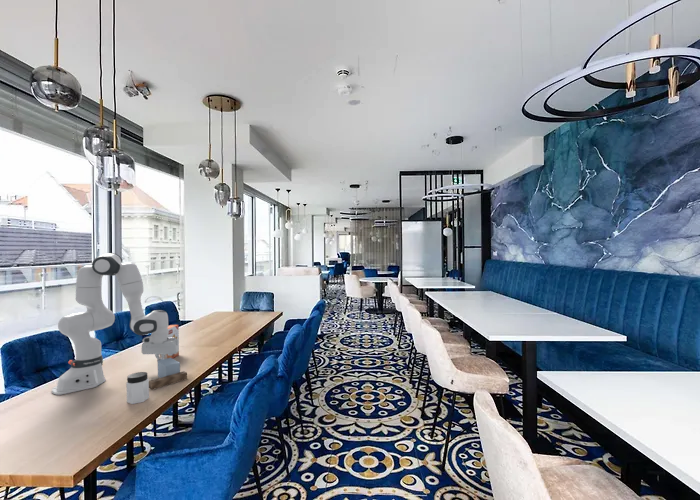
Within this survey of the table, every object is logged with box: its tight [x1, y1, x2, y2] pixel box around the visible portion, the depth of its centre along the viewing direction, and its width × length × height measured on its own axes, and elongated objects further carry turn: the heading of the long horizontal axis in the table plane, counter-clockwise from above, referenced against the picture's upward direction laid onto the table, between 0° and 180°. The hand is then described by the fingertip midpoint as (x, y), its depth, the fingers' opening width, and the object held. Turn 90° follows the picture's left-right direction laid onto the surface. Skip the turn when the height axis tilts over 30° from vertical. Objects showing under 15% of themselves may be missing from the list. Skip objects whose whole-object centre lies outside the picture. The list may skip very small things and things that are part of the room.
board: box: [149, 370, 188, 391], centre depth 183 cm, size 18×4×4 cm, turn 140°
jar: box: [125, 371, 150, 405], centre depth 163 cm, size 9×8×12 cm
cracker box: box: [159, 324, 180, 359], centre depth 228 cm, size 14×6×21 cm, turn 179°
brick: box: [157, 358, 181, 378], centre depth 192 cm, size 7×14×9 cm, turn 46°
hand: (160, 361), depth 201 cm, fingers closed
